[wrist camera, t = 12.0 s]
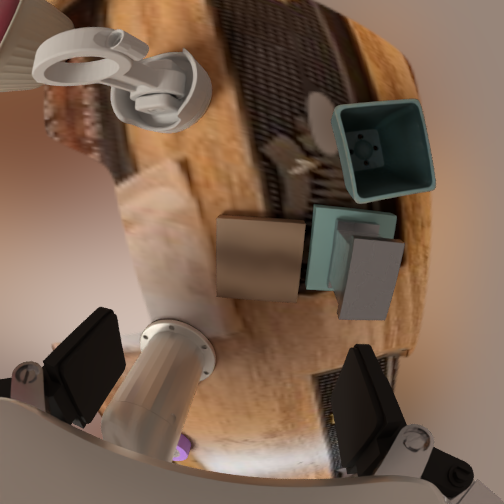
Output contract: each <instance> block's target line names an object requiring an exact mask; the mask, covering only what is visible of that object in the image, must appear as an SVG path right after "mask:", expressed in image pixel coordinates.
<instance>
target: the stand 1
mask: <svg viewBox="0 0 504 504" xmlns="http://www.w3.org/2000/svg"><path fill="white" fill-rule="evenodd" d="M305 225H306V224H305V222H304V220H294V219H281V218H267V217H251V216H234V215H219V216H218V217H217V229H216V286H217V297H225V298H236V299H247V300H259V301H272V302H287V303H297V295H298V288H299V280H300V271H301V263H302V254H303V245H304V235H305Z"/></svg>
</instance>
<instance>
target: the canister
mask: <svg viewBox="0 0 504 504" xmlns="http://www.w3.org/2000/svg"><path fill="white" fill-rule="evenodd" d="M72 29H75V28H74V24H73V23H72V21H71V20H70V18H68V17H67V16H66V15H65V14H64V13H62V12H61V11H60V10H58V9H57V8H56V7H54V6H53V5H51V4H50V3H48V2H47V1H45V0H0V92H6V91H18V90H30V89H34V88H38V87H40V86H42V85H44V84H43V83H38V82H36V80H35V79H34V78H33V76H32V69H33V64H34V60H35V55H36V52H37V49H38V48H39V47H40V45H41V44H42V43H43V42H45V41H46V40H47V39H49V38H51V37H53V36H55V35H57V34H59V33H62V32H65V31H68V30H72ZM66 60H67V59H65V60H62V61H60V62H65V61H66Z"/></svg>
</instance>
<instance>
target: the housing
mask: <svg viewBox="0 0 504 504" xmlns="http://www.w3.org/2000/svg"><path fill="white" fill-rule="evenodd" d="M379 227H380V225H379V224H377V223H373V222H365V221H355V220H346V219H336V222H335V230H334V237H333V245H332V252H331V258H330V265H329V271H328V277H327V283H326V284H327V286H328V288H333V291H334V293H335V296H336V299H337V301H338V304H339V305H338V309H337V315H338V318H339V319H342V320H385V319H386V316H387V313H388V309H389V306H390V302H391V299H392V295H393V292H394V288H395V284H396V280H397V276H398V272H399V268H400V264H401V259H402V255H403V250H404V245H405V243H404V242H402V241H401V240H399V239H389V238H383V237H382V236H380V235H379Z"/></svg>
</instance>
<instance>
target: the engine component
mask: <svg viewBox="0 0 504 504" xmlns="http://www.w3.org/2000/svg"><path fill="white" fill-rule="evenodd" d="M148 51H149V46H148V45H147V44H146V43H144V42H142V41H141V40H139V39H137V38H135V37H134V36H132V35H130V34H128V33H127V32H125V31H123V30H121V29H118V30H114V29H110V28H102V27H84V28H78V29H72V30H68V31H65V32H62V33H59V34H57V35H55V36H53V37H51V38H49V39H47V40H46V41H45V42H43V43H42V44H41V45H40V47H39V48H38V49H37V52H36V55H35V60H34V64H33V69H32V76H33V78H34V79H35V80H36V82H38V83H43V84H48V85H55V86H76V85H86V84H93V83H101V84H105V85H108V86H112V87H111V103H112V107H113V110H114V112H115V114H116V116H117V117H118V118H119V119H120V120H121V121H123V122H125V123H128V124H132V125H135V126H137V127H140V128H143V129H146V130H150V131H155V132H160V133H175V132H179V131H183V130H185V129H187V128H189V127H190V126H192V125H193V124H195V123H196V122H197V121H198V120H199V119H200V118H201V117H202V116H203V114H204V113H205V112H206V110H207V108H208V106H209V103H210V100H211V96H212V84H211V80H210V78H209V76H208V73H207V72H206V71H205V70H204V68H203V67H202V66H201V65H200V64H199V63H198V62H197V61H196V60H195V59H194V57H193V56H192V55H191V54H190V53H189V52H188V51H187V50H186V49H185V48H183V52H169V53H163V54H160V55H157V56H153V57H150V58H147V59H143V58H144V57H146V55H147V53H148ZM82 56H96V57H104V58H106V59H103V60H99V61H94V62H86V63H65V62H60V61H62V60H65V59H69V58H74V57H82Z"/></svg>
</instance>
